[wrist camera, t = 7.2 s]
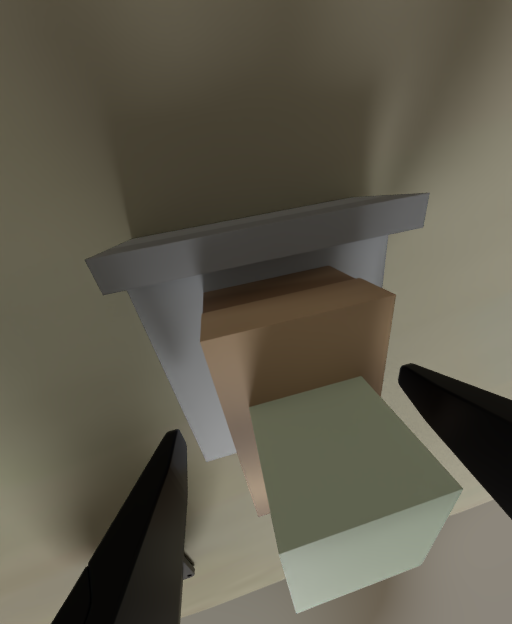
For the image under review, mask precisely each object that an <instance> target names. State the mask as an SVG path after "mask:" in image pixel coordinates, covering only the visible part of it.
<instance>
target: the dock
mask: <svg viewBox="0 0 512 624" xmlns="http://www.w3.org/2000/svg"><path fill="white" fill-rule="evenodd" d="M428 199H429V193H417V194H399V195H382V196H365V197H351V198H346V199H340V200H335V201H330V202H325V203H319V204H314V205H309V206H303V207H298V208H293V209H288V210H282V211H277V212H272V213H266V214H261V215H256V216H251V217H245V218H240V219H235V220H229V221H224V222H219V223H213V224H208V225H203V226H198V227H192V228H187V229H182V230H176V231H171V232H166V233H161V234H155V235H150V236H145V237H139V238H134V239H131V240H128V241H126V242H124V243H122V244H119V245H117V246H115V247H112V248H110V249H108V250H106V251H103V252H101V253H99V254H97V255H94V256H92V257H90V258H88V259H85V262H86V264H87V265H88V267H89V269H90V271H91V273H92V275H93V277H94V279H95V281H96V283H97V285H98V286H99V288H100V290H101V292H102V294H103V295H107V294H111V293H116V292H121V291H125V290H127V292H128V294H129V296H130V298H131V300H132V302H133V305H134V307H135V309H136V311H137V313H138V315H139V318H140V320H141V322H142V324H143V326H144V328H145V330H146V333H147V335H148V337H149V339H150V341H151V343H152V346H153V348H154V350H155V352H156V354H157V356H158V358H159V361H160V363H161V365H162V367H163V369H164V371H165V374H166V376H167V378H168V380H169V382H170V384H171V386H172V389H173V391H174V393H175V395H176V397H177V399H178V402H179V404H180V406H181V408H182V410H183V412H184V414H185V417H186V419H187V421H188V423H189V425H190V427H191V430H192V432H193V434H194V436H195V438H196V440H197V442H198V445H199V447H200V449H201V451H202V453H203V455H204V458H205V460H206V462H208V461H211V460H214V459H218V458H221V457H224V456H228V455H231V454H234V453H237V452H236V449H235V446H234V443H233V440H232V437H231V434H230V431H229V428H228V425H227V422H226V419H225V416H224V413H223V410H222V407H221V404H220V401H219V398H218V395H217V392H216V389H215V386H214V383H213V380H212V377H211V374H210V371H209V368H208V365H207V362H206V359H205V356H204V353H203V350H202V347H201V344H200V331H201V314H202V313H203V293H205V292H209V291H214V290H218V289H223V288H227V287H232V286H237V285H241V284H246V283H250V282H255V281H260V280H264V279H269V278H273V277H278V276H282V275H287V274H292V273H296V272H301V271H305V270H310V269H315V268H319V267H324V266H328V265H329V266H331V267H333V268H335V269H337V270H339V271H341V272H343V273H345V274H347V275H349V276H351V277H353V278H355V279H356V278H362V279H364V280H366V281H368V282H370V283H372V284H374V285H376V286H379V287H381V288H382V285H383V276H384V267H385V259H386V250H387V241H388V235H390V234H394V233H399V232H404V231H408V230H413V229H418V228H423V226H424V220H425V215H426V210H427V204H428Z"/></svg>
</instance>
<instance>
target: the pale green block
mask: <svg viewBox="0 0 512 624" xmlns="http://www.w3.org/2000/svg"><path fill="white" fill-rule="evenodd" d="M249 410H250V415H251V420H252V425H253V430H254V435H255V440H256V444H257V449H258V454H259V459H260V464H261V469H262V474H263V479H264V483H265V488H266V493H267V498H268V503H269V508H270V513H271V518H272V522H273V527H274V532H275V537H276V542H277V547H278V552H279V556H280V559H281V563H282V566H283V570H284V573H285V577H286V580H287V584H288V587H289V591H290V594H291V597H292V601H293V604H294V608H295V611H296V614H297V613H300V612H302V611H305V610H307V609H310V608H312V607H315V606H318V605H320V604H322V603H325V602H328V601H330V600H333V599H335V598H338V597H341V596H343V595H346V594H348V593H351V592H354V591H356V590H359V589H361V588H364V587H366V586H369V585H371V584H374V583H377V582H379V581H382V580H384V579H387V578H389V577H392V576H395V575H397V574H400V573H402V572H405V571H407V570H410V569H413V568H415V567H418V566H420V565H422V563H423V561H424V559H425V558H426V556H427V554H428V552H429V550H430V548H431V547H432V545H433V543H434V541H435V539H436V537H437V536H438V534H439V532H440V530H441V528H442V526H443V525H444V523H445V521H446V519H447V518H448V516H449V514H450V512H451V510H452V508H453V507H454V505H455V503H456V501H457V499H458V498H459V496H460V494H461V492H462V490H463V488H462V487H461V486H460V485H459V483H458V482H457V481H456V480H455V479H454V478H453V477H452V476H451V475H450V473H449V472H448V471H447V470H446V469H445V468H444V467H443V466H442V465H441V464H440V462H439V461H438V460H437V459H436V458H435V457H434V456H433V455H432V454H431V452H430V451H429V450H428V449H427V448H426V447H425V446H424V445H423V444H422V442H421V441H420V440H419V439H418V438H417V437H416V436H415V435H414V434H413V432H412V431H411V430H410V429H409V428H408V427H407V426H406V425H405V424H404V423H403V421H402V420H401V419H400V418H399V417H398V416H397V415H396V414H395V413H394V411H393V410H392V409H391V408H390V407H389V406H388V405H387V404H386V403H385V401H384V400H383V399H382V398H381V397H380V396H379V395H378V394H377V393H376V392H375V390H374V389H373V388H372V387H371V386H370V385H369V384H368V383H367V382H366V380H365V379H364V378H363V377H362V376H359V377H356V378H352V379H348V380H345V381H341V382H338V383H334V384H330V385H327V386H323V387H320V388H316V389H313V390H309V391H305V392H302V393H298V394H295V395H291V396H287V397H284V398H280V399H277V400H273V401H270V402H266V403H262V404H259V405H255V406H252V407H249Z"/></svg>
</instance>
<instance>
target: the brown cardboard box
mask: <svg viewBox="0 0 512 624" xmlns="http://www.w3.org/2000/svg"><path fill="white" fill-rule="evenodd" d="M395 298H396V295H395V294H393V293H391V292H389V291H387V290H385V289H383V288H381V287H379V286H376V285H374V284H372V283H370V282H368V281H366V280H364V279H362V278H356V279H355V278H353V277H351V276H349V275H347V274H345V273H343V272H341V271H339V270H337V269H335V268H333V267H331V266H329V265H328V266H324V267H319V268H315V269H310V270H305V271H301V272H296V273H292V274H287V275H282V276H278V277H273V278H269V279H264V280H260V281H255V282H250V283H246V284H241V285H237V286H232V287H227V288H223V289H218V290H214V291H209V292H205V293H203V313H202V314H201V331H200V344H201V347H202V350H203V353H204V356H205V359H206V362H207V365H208V368H209V371H210V374H211V377H212V380H213V383H214V386H215V389H216V392H217V395H218V398H219V401H220V404H221V407H222V410H223V413H224V416H225V419H226V422H227V425H228V428H229V431H230V434H231V437H232V440H233V443H234V446H235V449H236V452H237V455H238V458H239V460H240V463H241V466H242V469H243V472H244V475H245V478H246V481H247V484H248V487H249V490H250V493H251V496H252V499H253V502H254V505H255V508H256V511H257V514H258V517H260V516H263V515H266V514H269V513H270V508H269V503H268V498H267V493H266V488H265V483H264V479H263V474H262V469H261V464H260V459H259V454H258V449H257V444H256V440H255V435H254V430H253V425H252V420H251V415H250V410H249V407H252V406H255V405H259V404H262V403H266V402H270V401H273V400H277V399H280V398H284V397H287V396H291V395H295V394H298V393H302V392H305V391H309V390H313V389H316V388H320V387H323V386H327V385H330V384H334V383H338V382H341V381H345V380H348V379H352V378H356V377H359V376H362V377H363V378H364V379H365V380H366V382H367V383H368V384H369V385H370V386H371V387H372V388H373V389H374V390H375V392H376V393H377V394H378V395H379V396H380V397H381V391H382V384H383V377H384V371H385V364H386V358H387V351H388V344H389V338H390V331H391V324H392V318H393V311H394V304H395Z"/></svg>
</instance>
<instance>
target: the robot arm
mask: <svg viewBox="0 0 512 624" xmlns="http://www.w3.org/2000/svg"><path fill="white" fill-rule="evenodd" d="M398 383H399V385H400V387H401V388H402V390H403V391H404V392H405V394H406V395H407V396H408V398H409V399H410V400H411V402H412V403H413V405H414V406H415V407H416V409H417V410H418V411H419V413H420V414H421V415H422V417H423V418H424V419H425V421H426V422H427V423H428V424H429V425H430V427H431V428H432V429H433V430H434V431H435V432H436V433H437V435H438V436H439V437H440V438H441V439H442V440H443V441H444V443H445V444H446V445H447V446H448V447H449V448H450V449H451V451H452V452H453V453H454V454H455V455H456V456H457V457H458V459H459V460H460V461H461V462H462V463H463V464H464V466H465V467H466V468H467V469H468V470H469V471H470V472H471V474H472V475H473V476H474V477H475V478H476V479H477V480H478V482H479V483H480V484H481V485H482V486H483V487H484V488H485V490H486V491H487V492H488V493H489V494H490V495H491V496H492V498H493V499H494V500H495V501H496V502H497V503H498V504H499V506H500V507H501V508H502V509H503V510H504V511H505V512H506V514H507V515H508V516H509V517H510V518H511V519H512V400H510V399H507V398H505V397H502V396H499V395H496V394H494V393H491V392H488V391H486V390H483V389H480V388H478V387H475V386H472V385H469V384H467V383H464V382H461V381H459V380H456V379H453V378H451V377H448V376H445V375H443V374H440V373H437V372H434V371H432V370H429V369H426V368H424V367H421V366H418V365H416V364H412V363H410V364H406V365H402V366H401V368H400V372H399V377H398ZM187 498H188V483H187V446H186V442H185V440H184V438H183V436H182V434H181V432H180V430H179V429H175V430H172V431H169V432H167V433H166V434H165V436H164V437H163V439H162V441H161V442H160V444H159V446H158V447H157V449H156V451H155V452H154V454H153V456H152V457H151V459H150V461H149V462H148V464H147V466H146V467H145V469H144V471H143V472H142V474H141V476H140V477H139V479H138V481H137V482H136V484H135V486H134V487H133V489H132V491H131V492H130V494H129V496H128V497H127V499H126V501H125V502H124V504H123V506H122V507H121V509H120V511H119V512H118V514H117V516H116V517H115V519H114V521H113V522H112V524H111V526H110V527H109V529H108V531H107V532H106V534H105V536H104V538H103V539H102V541H101V543H100V544H99V546H98V548H97V549H96V551H95V553H94V554H93V556H92V558H91V559H90V561H89V563H88V566H87V567H86V568H85V569H84V571H83V572H82V574H81V576H80V577H79V579H78V581H77V582H76V584H75V586H74V587H73V589H72V591H71V592H70V594H69V595H68V597H67V599H66V600H65V602H64V604H63V605H62V607H61V608H60V610H59V612H58V613H57V615H56V616H55V618H54V620H53V621H52V623H51V624H180V618H181V602H182V587H183V580H184V579H187V578H190V577H192V576H194V574H195V568H194V567H193V566H192V565H191V564H190V562H189V561H188V560H187V559H186V558H185V556H184V555H183V552H184V539H185V526H186V513H187Z"/></svg>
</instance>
